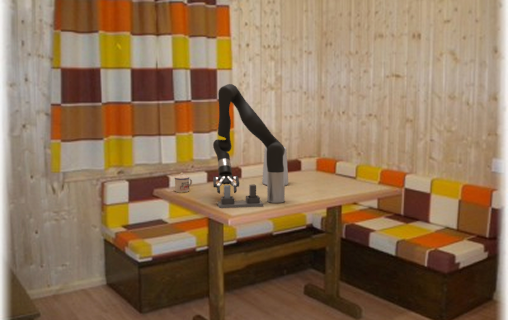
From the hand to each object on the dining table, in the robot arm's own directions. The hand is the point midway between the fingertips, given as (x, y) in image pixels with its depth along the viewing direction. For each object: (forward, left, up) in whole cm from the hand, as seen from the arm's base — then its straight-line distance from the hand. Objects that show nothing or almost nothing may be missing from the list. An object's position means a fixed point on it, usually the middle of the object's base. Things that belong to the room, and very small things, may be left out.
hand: (227, 192), depth 294 cm
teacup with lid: (+22, -44, -7) cm, 49 cm away
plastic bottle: (-38, -56, -7) cm, 68 cm away
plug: (0, 0, -6) cm, 6 cm away
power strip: (-7, 0, -7) cm, 10 cm away
